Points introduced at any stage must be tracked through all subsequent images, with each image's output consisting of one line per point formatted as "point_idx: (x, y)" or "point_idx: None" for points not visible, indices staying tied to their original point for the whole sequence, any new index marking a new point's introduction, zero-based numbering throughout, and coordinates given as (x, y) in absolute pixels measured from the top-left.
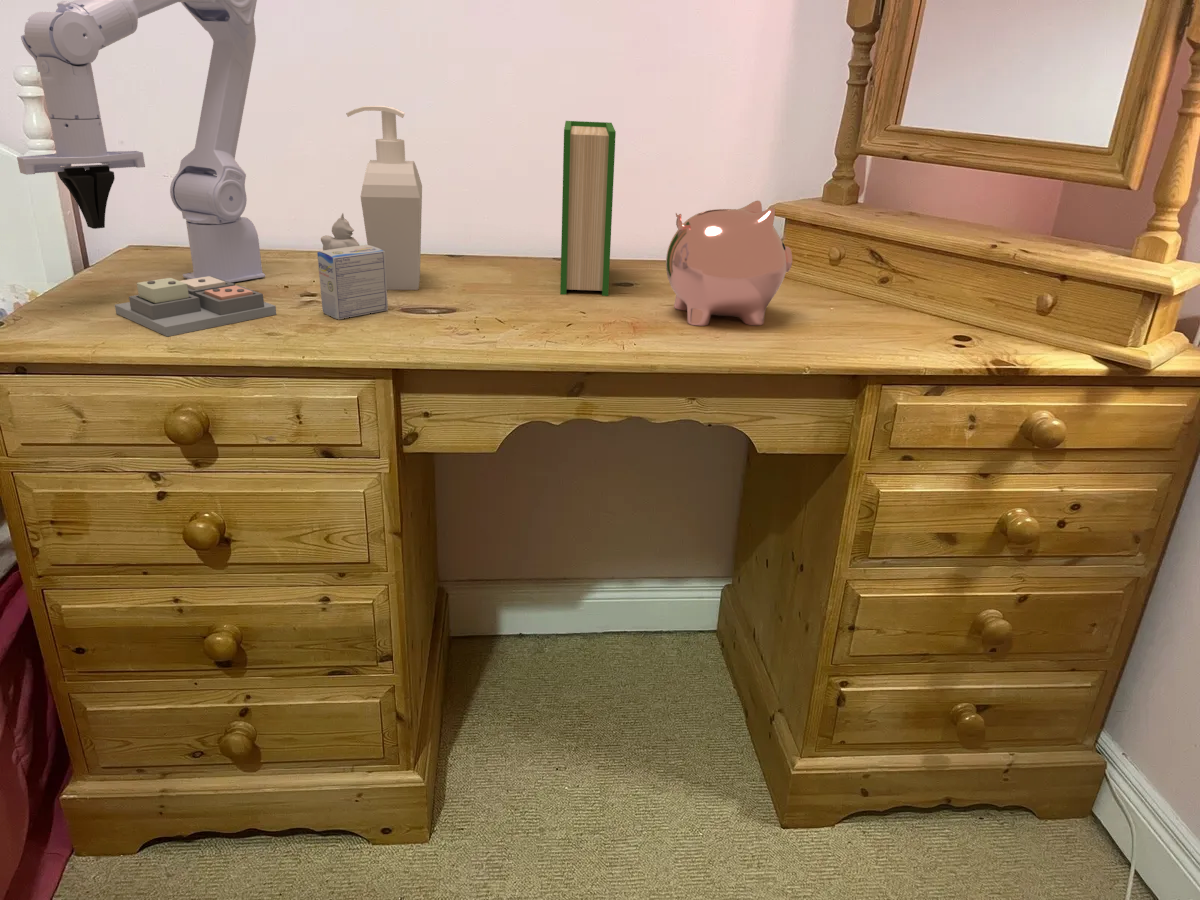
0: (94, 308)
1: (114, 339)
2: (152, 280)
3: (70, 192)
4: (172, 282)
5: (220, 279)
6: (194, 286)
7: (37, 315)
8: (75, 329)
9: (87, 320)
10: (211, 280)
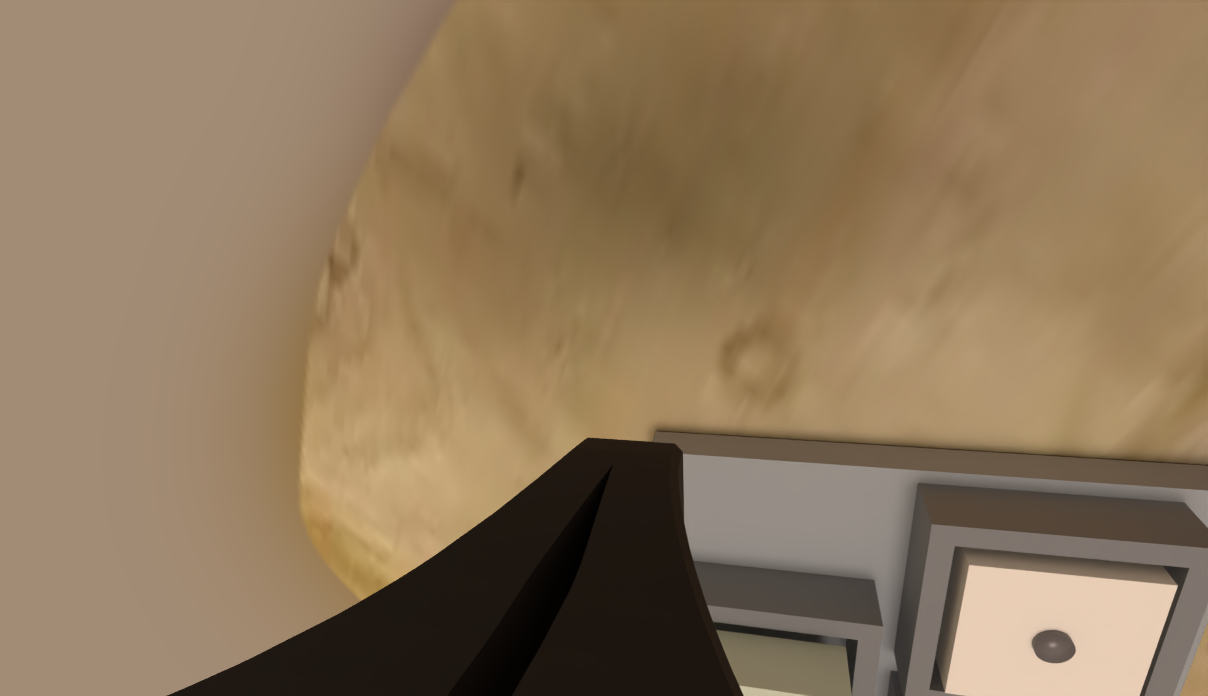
0: (619, 297)
1: None
2: (757, 690)
3: (302, 635)
4: None
5: (1191, 631)
6: (950, 687)
7: (407, 255)
8: (477, 510)
9: (539, 442)
10: (1104, 658)
